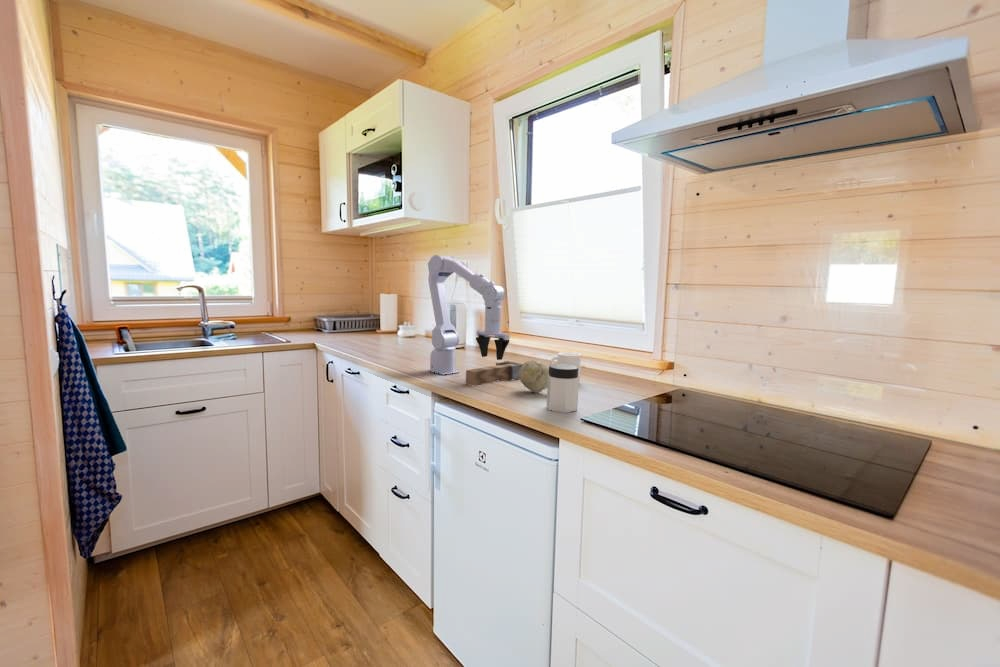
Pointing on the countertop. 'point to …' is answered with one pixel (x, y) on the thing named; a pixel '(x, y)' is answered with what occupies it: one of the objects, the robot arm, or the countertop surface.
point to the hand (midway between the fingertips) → (491, 358)
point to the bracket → (512, 369)
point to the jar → (562, 388)
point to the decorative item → (534, 375)
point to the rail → (488, 374)
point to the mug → (568, 359)
